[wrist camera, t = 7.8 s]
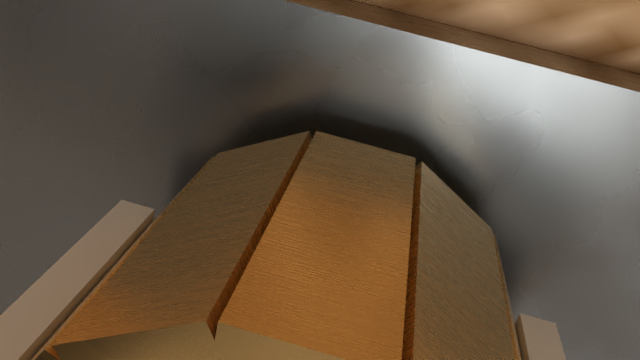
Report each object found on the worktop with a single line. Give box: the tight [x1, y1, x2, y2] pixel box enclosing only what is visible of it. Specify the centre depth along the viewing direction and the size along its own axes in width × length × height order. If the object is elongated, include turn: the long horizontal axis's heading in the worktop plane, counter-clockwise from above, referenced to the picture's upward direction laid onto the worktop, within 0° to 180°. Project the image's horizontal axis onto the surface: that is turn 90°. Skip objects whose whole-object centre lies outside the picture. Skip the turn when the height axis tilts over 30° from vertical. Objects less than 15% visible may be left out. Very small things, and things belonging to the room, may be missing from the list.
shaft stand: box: [0, 0, 640, 360], centre depth 14 cm, size 18×12×6 cm, turn 78°
